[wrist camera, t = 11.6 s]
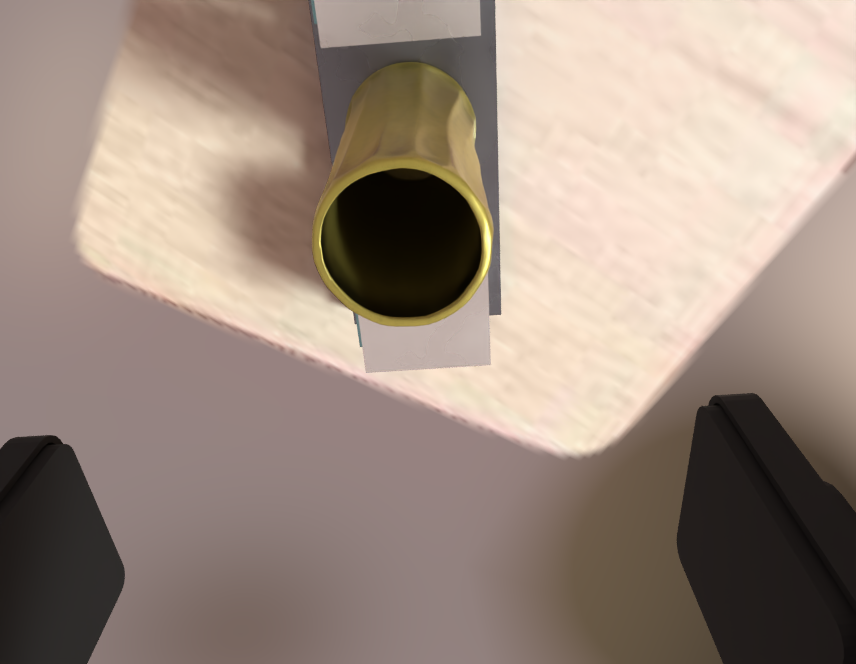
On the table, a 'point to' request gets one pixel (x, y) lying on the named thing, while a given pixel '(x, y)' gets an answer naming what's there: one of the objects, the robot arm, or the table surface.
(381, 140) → the vase
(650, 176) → the table surface
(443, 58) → the rail board
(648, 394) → the table surface
